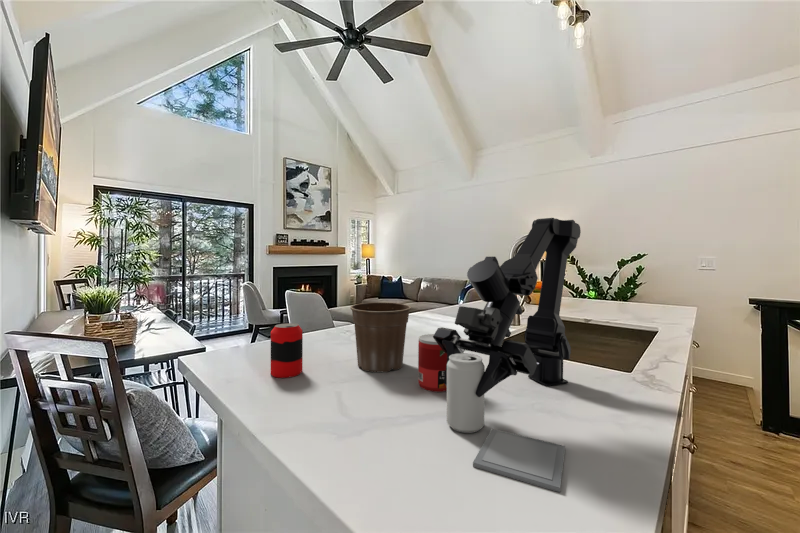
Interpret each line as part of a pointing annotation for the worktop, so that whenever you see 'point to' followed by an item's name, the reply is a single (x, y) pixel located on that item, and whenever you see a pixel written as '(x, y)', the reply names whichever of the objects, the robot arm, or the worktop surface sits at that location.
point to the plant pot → (380, 335)
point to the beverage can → (464, 392)
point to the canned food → (431, 364)
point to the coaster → (522, 459)
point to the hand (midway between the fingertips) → (461, 390)
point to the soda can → (286, 350)
